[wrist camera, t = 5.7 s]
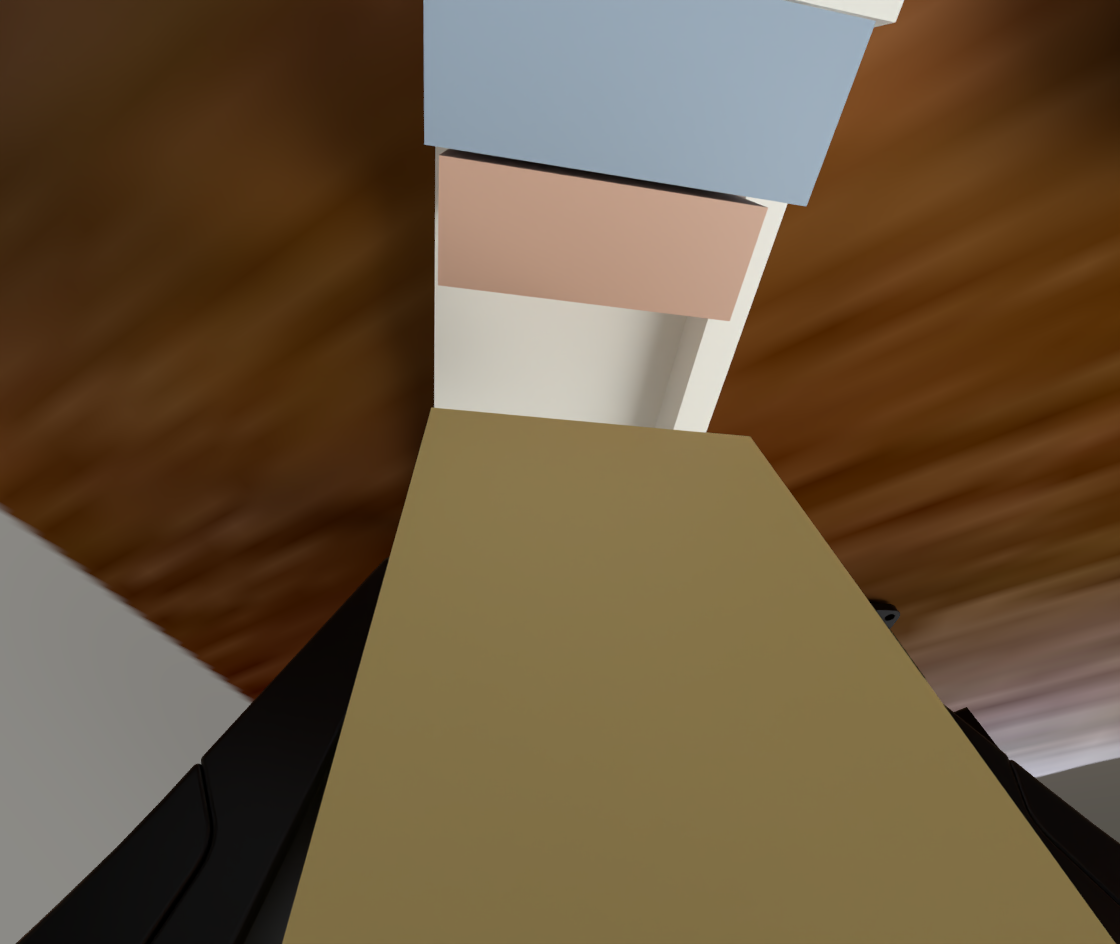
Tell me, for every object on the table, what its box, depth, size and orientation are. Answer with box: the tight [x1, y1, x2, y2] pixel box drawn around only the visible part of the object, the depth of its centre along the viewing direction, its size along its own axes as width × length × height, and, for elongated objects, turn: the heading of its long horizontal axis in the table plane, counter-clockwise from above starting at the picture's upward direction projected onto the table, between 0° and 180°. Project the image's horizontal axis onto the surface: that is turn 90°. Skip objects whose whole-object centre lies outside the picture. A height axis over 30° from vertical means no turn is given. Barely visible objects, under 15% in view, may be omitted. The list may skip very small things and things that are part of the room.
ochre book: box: [282, 407, 1116, 944], centre depth 7 cm, size 4×6×7 cm
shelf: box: [423, 0, 904, 433], centre depth 14 cm, size 20×8×7 cm, turn 172°
